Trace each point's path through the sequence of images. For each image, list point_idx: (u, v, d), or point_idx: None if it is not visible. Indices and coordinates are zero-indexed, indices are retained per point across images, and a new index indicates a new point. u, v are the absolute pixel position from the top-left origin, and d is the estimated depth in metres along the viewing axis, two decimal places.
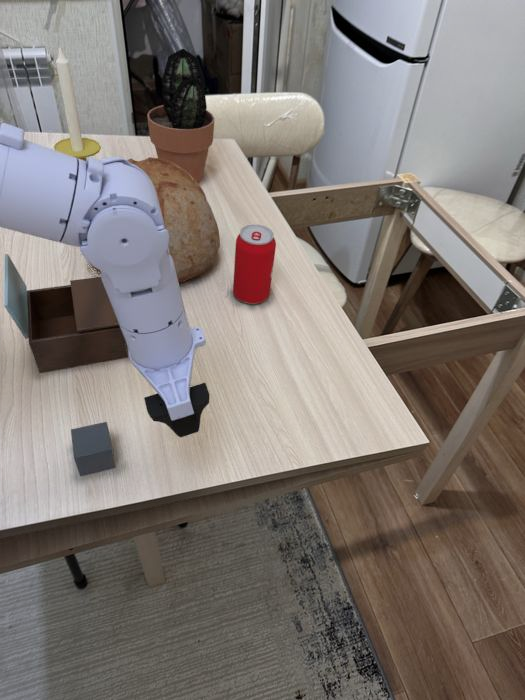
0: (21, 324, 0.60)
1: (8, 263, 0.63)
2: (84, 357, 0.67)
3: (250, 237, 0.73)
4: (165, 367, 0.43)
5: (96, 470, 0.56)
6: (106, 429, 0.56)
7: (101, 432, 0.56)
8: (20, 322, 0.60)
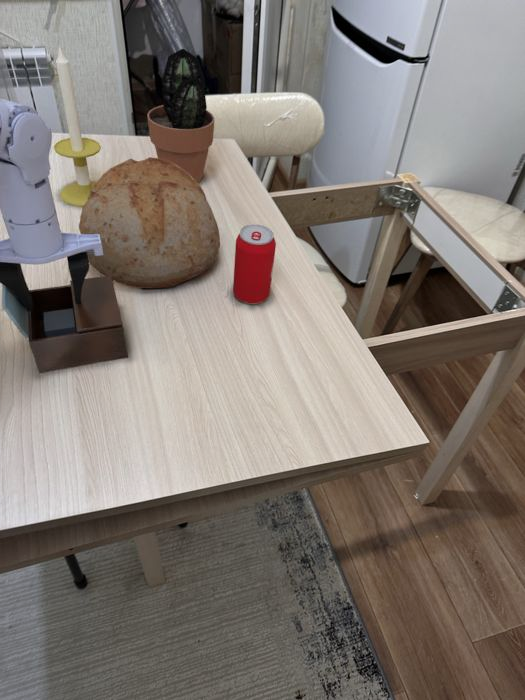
0: (20, 324, 0.60)
1: None
2: (84, 357, 0.67)
3: (250, 237, 0.73)
4: (63, 243, 0.59)
5: None
6: (72, 313, 0.68)
7: (68, 314, 0.68)
8: (19, 322, 0.60)
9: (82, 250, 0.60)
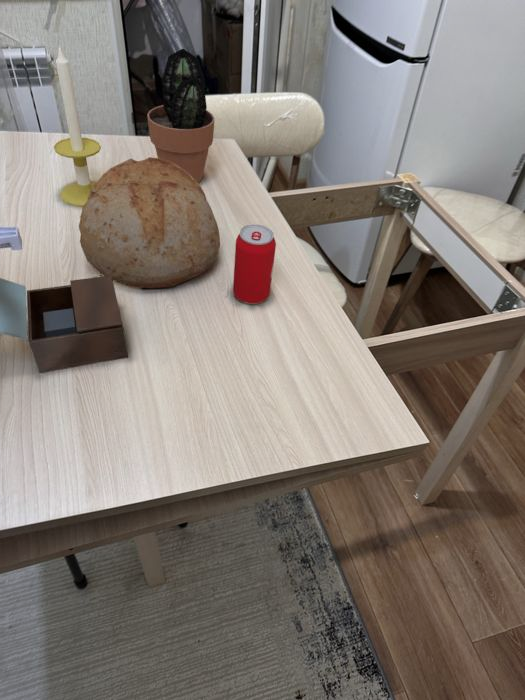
0: (10, 330, 0.60)
1: None
2: (84, 357, 0.67)
3: (250, 237, 0.73)
4: None
5: None
6: (72, 313, 0.68)
7: (68, 314, 0.68)
8: (7, 329, 0.60)
9: None
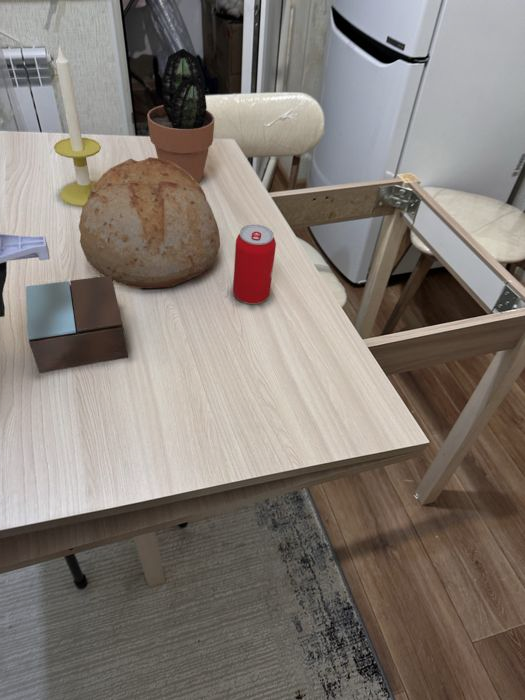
0: None
1: None
2: (84, 357, 0.67)
3: (250, 237, 0.73)
4: (2, 246, 0.53)
5: None
6: None
7: None
8: None
9: (24, 254, 0.53)
